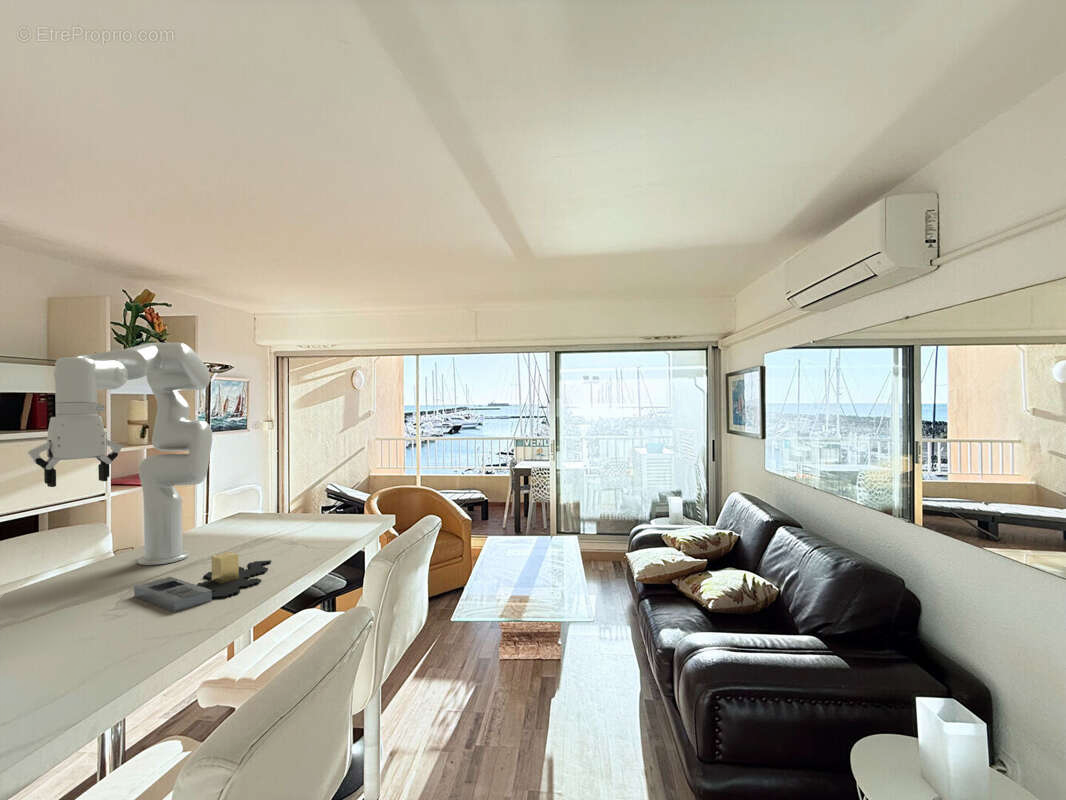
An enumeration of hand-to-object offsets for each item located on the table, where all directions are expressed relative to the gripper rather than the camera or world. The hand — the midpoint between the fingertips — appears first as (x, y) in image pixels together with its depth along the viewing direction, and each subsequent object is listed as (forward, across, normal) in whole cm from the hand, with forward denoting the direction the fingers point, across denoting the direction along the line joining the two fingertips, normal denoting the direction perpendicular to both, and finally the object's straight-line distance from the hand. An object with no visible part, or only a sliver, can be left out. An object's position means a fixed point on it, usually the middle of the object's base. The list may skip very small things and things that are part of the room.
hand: (78, 483), depth 127 cm
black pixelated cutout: (+29, -28, +14) cm, 42 cm away
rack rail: (+28, -13, +15) cm, 35 cm away
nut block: (+28, -26, +14) cm, 41 cm away
